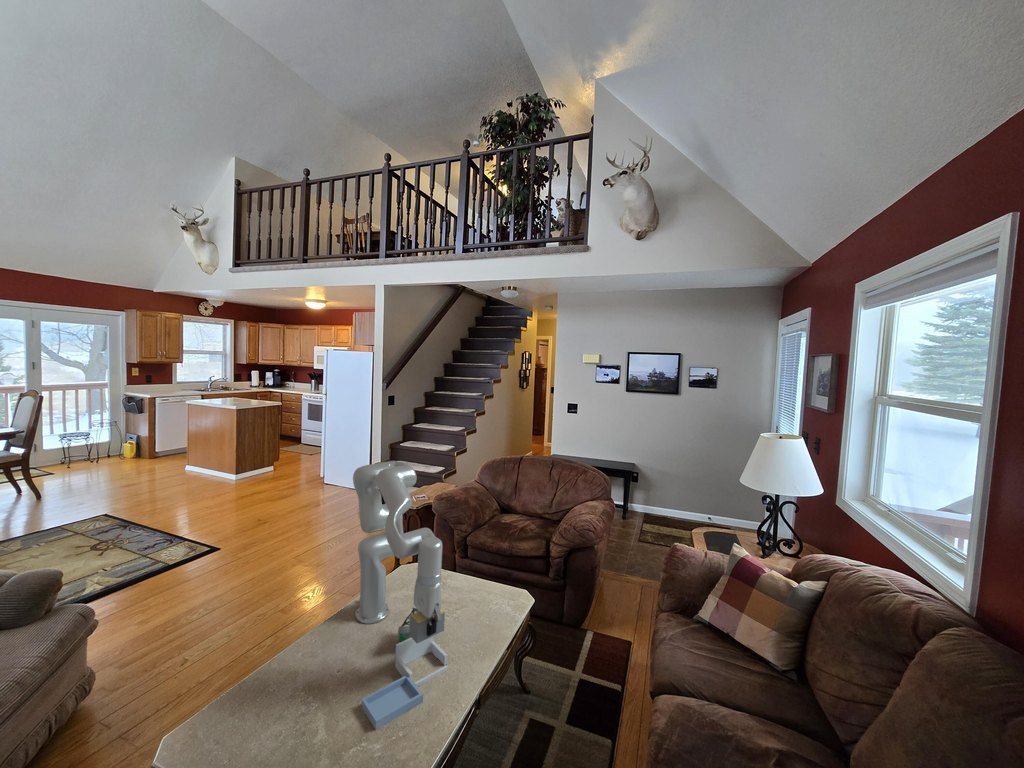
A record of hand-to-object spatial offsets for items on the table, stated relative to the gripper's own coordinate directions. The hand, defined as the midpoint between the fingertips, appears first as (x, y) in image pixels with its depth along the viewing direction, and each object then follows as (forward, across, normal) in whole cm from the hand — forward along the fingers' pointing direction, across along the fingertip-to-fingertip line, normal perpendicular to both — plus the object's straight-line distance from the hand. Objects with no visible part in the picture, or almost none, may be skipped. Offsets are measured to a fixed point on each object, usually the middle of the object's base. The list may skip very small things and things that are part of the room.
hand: (426, 628), depth 142 cm
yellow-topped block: (+2, 0, 0) cm, 2 cm away
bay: (+15, -1, 0) cm, 15 cm away
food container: (+15, -13, +3) cm, 20 cm away
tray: (+15, +6, -14) cm, 21 cm away
